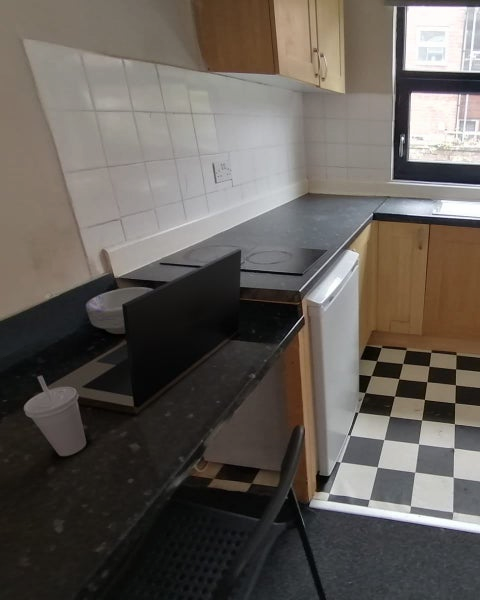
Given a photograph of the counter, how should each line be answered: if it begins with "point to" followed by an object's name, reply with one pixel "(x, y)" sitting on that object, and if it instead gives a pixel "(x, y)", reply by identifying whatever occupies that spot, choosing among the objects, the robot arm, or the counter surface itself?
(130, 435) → the counter surface
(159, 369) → the laptop screen
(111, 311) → the paper bowls
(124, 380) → the laptop
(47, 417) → the smoothie
